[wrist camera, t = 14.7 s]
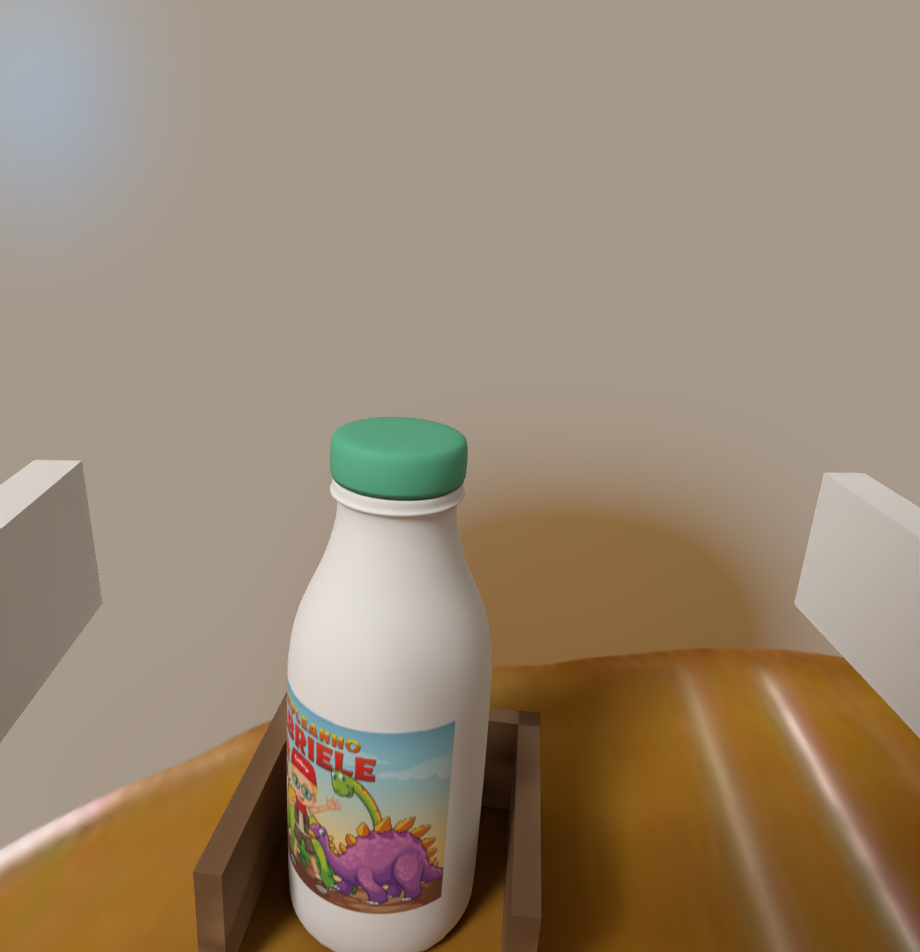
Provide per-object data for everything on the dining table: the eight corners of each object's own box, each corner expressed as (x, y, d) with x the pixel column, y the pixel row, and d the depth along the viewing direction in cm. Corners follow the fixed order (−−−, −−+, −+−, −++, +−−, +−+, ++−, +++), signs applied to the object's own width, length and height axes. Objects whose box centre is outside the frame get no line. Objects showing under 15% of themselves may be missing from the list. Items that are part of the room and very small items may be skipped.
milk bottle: (370, 790, 37) (383, 392, 30) (506, 868, 33) (555, 431, 26) (248, 900, 31) (230, 430, 24) (398, 1012, 27) (426, 489, 20)
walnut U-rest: (529, 797, 37) (539, 713, 35) (526, 1022, 27) (541, 919, 25) (291, 767, 38) (291, 683, 36) (200, 975, 28) (193, 871, 26)
